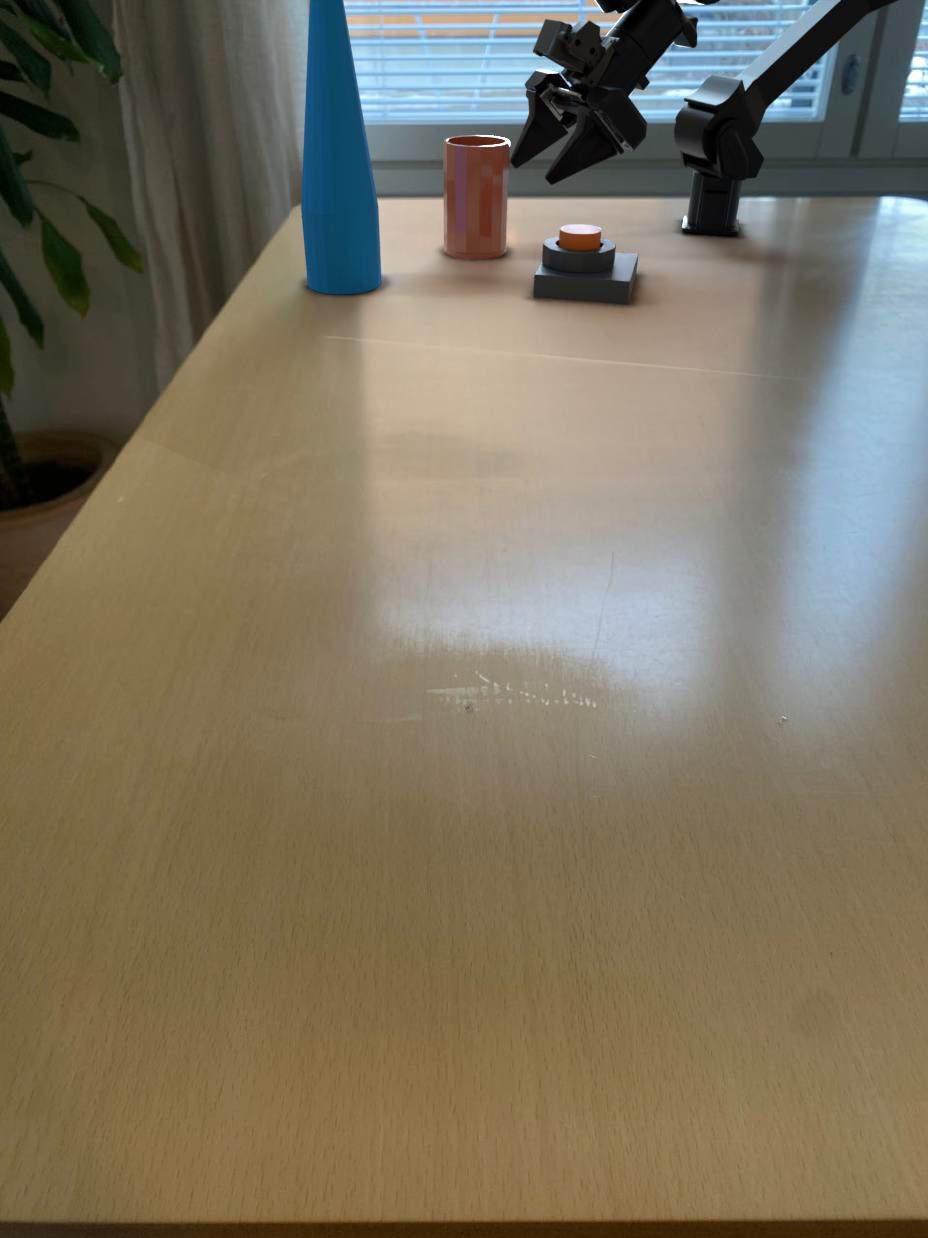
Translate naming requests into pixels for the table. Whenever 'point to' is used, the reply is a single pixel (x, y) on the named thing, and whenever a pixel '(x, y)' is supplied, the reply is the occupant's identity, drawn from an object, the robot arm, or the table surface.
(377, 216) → the bottle
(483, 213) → the cup
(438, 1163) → the table surface
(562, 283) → the button base
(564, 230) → the orange push button
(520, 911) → the table surface
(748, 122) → the robot arm
